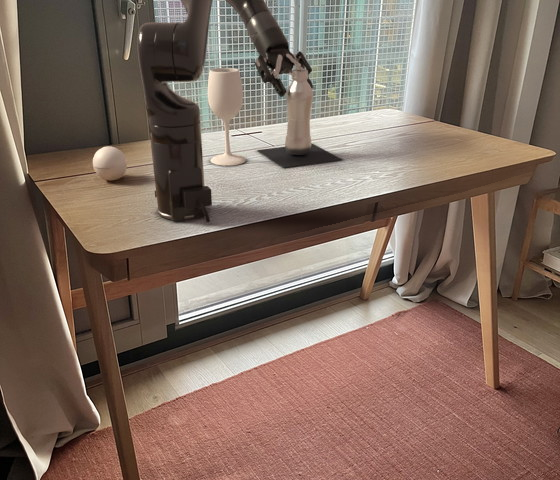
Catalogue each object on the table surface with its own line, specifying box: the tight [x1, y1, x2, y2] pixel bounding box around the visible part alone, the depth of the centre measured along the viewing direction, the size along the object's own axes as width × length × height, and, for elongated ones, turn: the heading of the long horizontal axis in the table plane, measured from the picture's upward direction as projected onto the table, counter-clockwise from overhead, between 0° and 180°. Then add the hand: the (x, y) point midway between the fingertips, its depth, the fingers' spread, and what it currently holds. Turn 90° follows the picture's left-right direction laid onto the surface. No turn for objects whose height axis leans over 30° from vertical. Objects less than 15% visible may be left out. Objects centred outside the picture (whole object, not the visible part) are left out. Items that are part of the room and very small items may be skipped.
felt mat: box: [257, 142, 343, 169], centre depth 144 cm, size 16×16×1 cm
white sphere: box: [82, 145, 128, 182], centre depth 125 cm, size 10×7×7 cm
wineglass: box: [207, 67, 247, 167], centre depth 135 cm, size 9×9×21 cm
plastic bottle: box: [284, 68, 314, 155], centre depth 139 cm, size 6×7×20 cm
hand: (297, 92), depth 138 cm, fingers open, 8 cm apart
